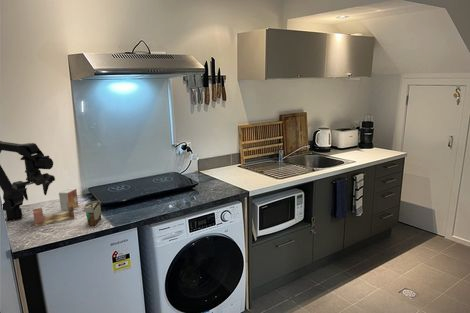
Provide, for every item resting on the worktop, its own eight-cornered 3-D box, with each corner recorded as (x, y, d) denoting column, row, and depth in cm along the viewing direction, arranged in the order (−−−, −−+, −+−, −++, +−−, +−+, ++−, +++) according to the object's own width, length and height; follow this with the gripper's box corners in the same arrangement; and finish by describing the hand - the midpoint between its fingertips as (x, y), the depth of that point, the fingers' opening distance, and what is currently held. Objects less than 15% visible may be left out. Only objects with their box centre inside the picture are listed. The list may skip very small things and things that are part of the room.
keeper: (34, 223, 171) (33, 213, 170) (34, 219, 176) (32, 209, 175) (44, 221, 173) (42, 211, 172) (43, 217, 178) (41, 207, 177)
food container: (90, 218, 180) (88, 200, 178) (102, 218, 181) (100, 200, 178) (82, 228, 168) (79, 209, 166) (94, 227, 169) (92, 208, 166)
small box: (69, 210, 191) (67, 193, 189) (60, 210, 192) (58, 192, 190) (78, 205, 199) (76, 188, 197) (70, 205, 200) (68, 188, 198)
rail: (35, 227, 171) (33, 213, 169) (34, 221, 177) (32, 208, 176) (74, 218, 180) (72, 206, 178) (72, 214, 187) (70, 202, 185)
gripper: (20, 175, 161) (25, 206, 164) (58, 166, 176) (62, 195, 179) (9, 171, 167) (14, 201, 170) (47, 163, 182) (51, 191, 186)
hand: (36, 197), depth 176 cm, fingers open, 9 cm apart
